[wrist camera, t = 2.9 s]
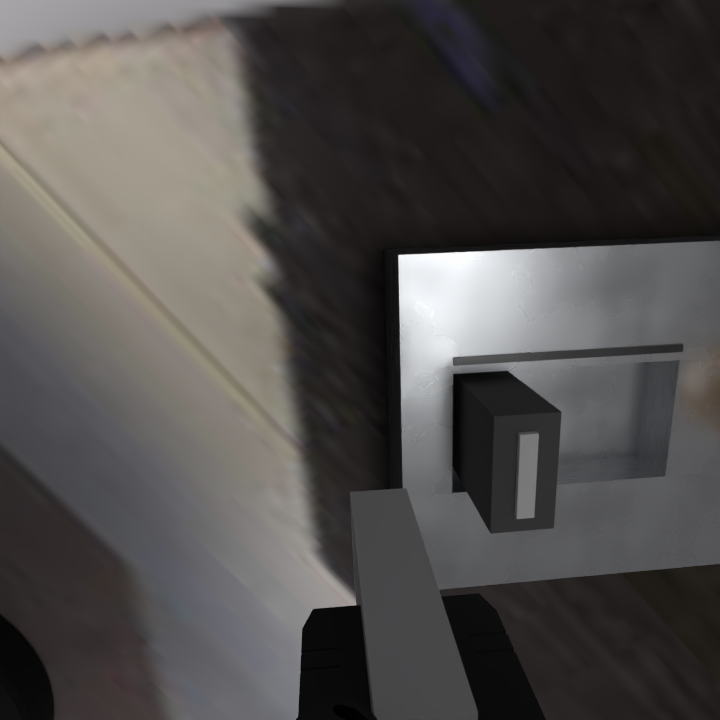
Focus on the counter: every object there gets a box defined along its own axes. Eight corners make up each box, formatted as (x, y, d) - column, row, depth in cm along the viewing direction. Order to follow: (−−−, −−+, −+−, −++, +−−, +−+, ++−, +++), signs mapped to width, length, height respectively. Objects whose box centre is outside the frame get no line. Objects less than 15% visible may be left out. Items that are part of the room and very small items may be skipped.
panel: (391, 537, 26) (407, 602, 21) (383, 249, 22) (401, 255, 18) (909, 493, 28) (1022, 545, 23) (980, 223, 24) (1129, 223, 20)
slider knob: (451, 464, 22) (492, 537, 17) (451, 371, 21) (496, 418, 16) (500, 460, 23) (556, 531, 17) (504, 367, 22) (564, 414, 16)
